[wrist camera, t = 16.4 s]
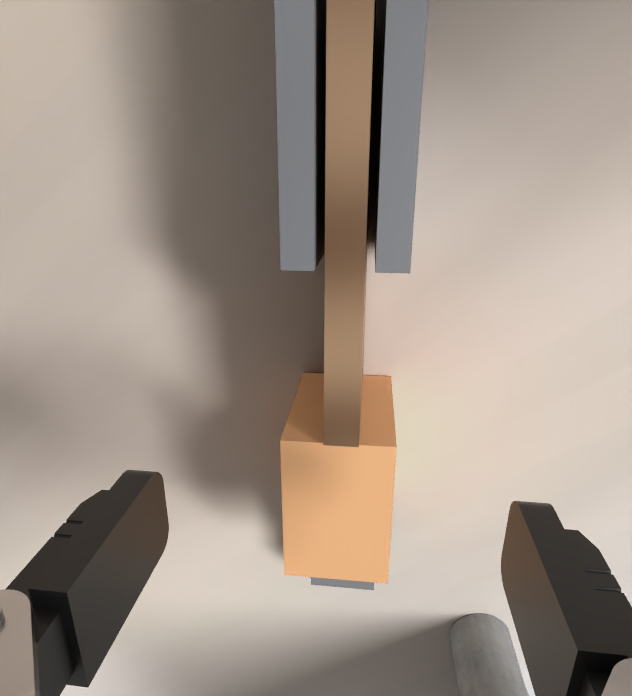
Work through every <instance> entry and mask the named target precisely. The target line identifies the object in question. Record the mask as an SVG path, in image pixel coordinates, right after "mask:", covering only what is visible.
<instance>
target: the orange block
mask: <svg viewBox="0 0 632 696" xmlns="http://www.w3.org/2000/svg"><path fill="white" fill-rule="evenodd" d="M323 434H324V374H322V373H303V375H302V378H301V381H300V384H299V387H298V390H297V393H296V396H295V398H294V401H293V404H292V407H291V410H290V413H289V416H288V419H287V422H286V425H285V428H284V431H283V434H282V437H281V439H280V453H281V485H282V518H283V550H284V575H293V576H305V577H317V578H328V579H340V580H352V581H363V582H375V583H386V584H388V572H389V556H390V541H391V525H392V509H393V494H394V478H395V462H396V435H395V422H394V409H393V397H392V384H391V376H369V375H363V380H362V399H361V417H360V436H359V447H345V446H328V445H323Z"/></svg>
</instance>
